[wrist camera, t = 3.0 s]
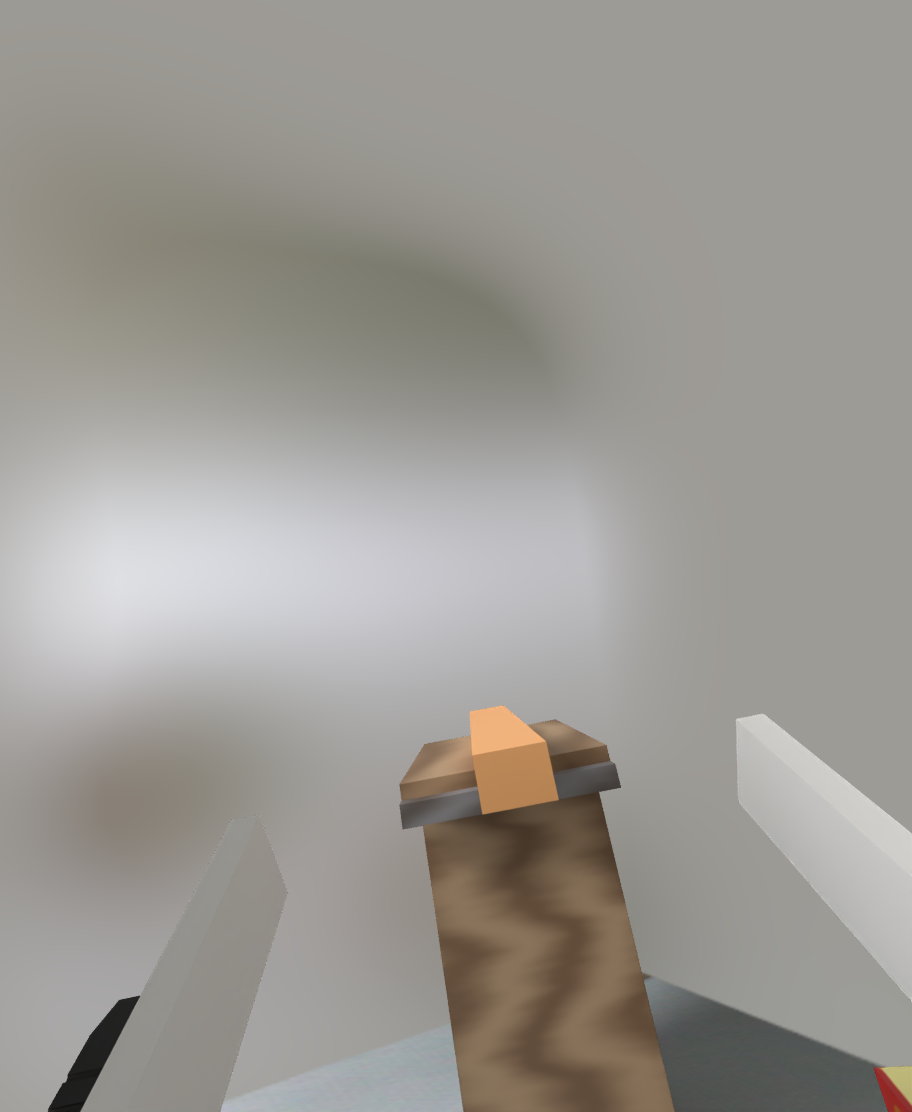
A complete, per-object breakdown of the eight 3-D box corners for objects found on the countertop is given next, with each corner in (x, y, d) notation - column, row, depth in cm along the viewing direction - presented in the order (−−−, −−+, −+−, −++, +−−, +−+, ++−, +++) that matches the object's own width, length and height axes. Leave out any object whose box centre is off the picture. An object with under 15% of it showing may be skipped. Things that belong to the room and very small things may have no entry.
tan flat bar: (482, 814, 20) (472, 755, 21) (474, 737, 45) (469, 711, 46) (558, 799, 20) (546, 741, 21) (508, 730, 45) (503, 705, 46)
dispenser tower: (488, 1481, 21) (397, 788, 29) (478, 1105, 39) (424, 744, 47) (777, 1416, 21) (610, 747, 29) (634, 1073, 40) (555, 719, 47)
